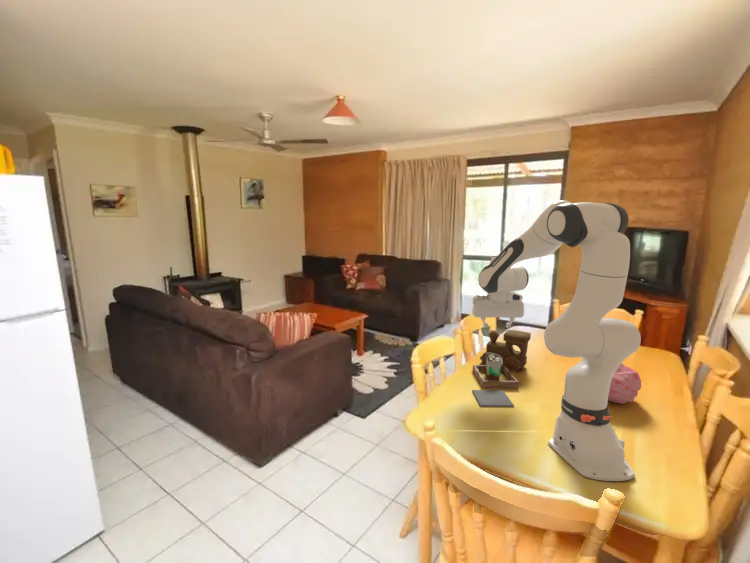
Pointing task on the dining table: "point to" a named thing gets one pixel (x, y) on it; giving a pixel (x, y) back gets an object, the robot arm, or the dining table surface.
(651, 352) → the dining table surface
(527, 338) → the wooden toy train
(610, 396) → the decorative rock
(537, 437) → the dining table surface
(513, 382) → the brown wooden frame
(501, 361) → the food container
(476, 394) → the mat
